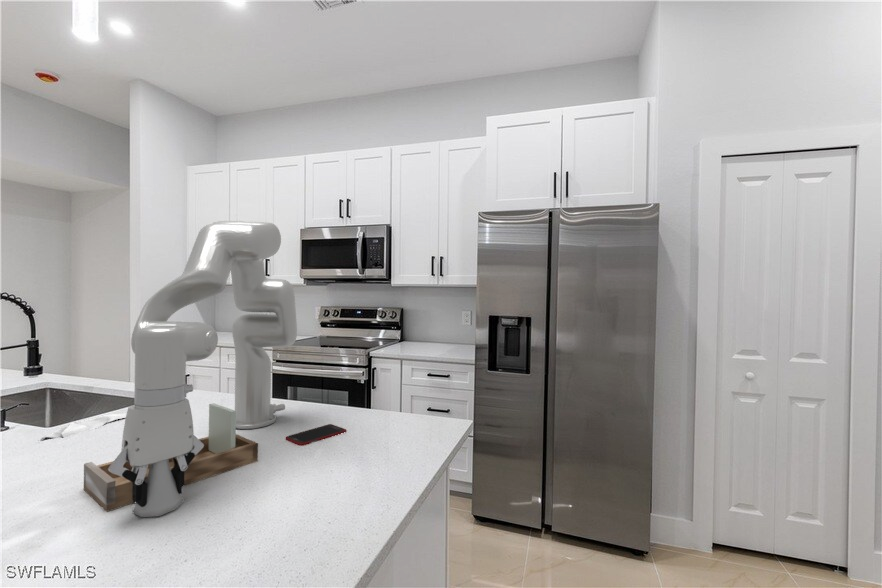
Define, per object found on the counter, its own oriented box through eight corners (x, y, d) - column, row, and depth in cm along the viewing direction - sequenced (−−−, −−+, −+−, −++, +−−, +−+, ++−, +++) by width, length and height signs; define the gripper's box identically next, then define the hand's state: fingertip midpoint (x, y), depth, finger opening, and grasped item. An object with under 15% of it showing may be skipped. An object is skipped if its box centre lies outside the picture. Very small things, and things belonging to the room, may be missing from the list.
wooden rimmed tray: (228, 447, 104) (228, 427, 104) (257, 460, 96) (258, 438, 96) (83, 489, 81) (83, 463, 81) (106, 511, 73) (107, 482, 73)
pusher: (212, 448, 99) (213, 403, 99) (235, 459, 93) (235, 411, 93) (208, 450, 98) (209, 404, 98) (230, 461, 92) (231, 411, 92)
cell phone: (347, 433, 117) (347, 429, 117) (300, 448, 105) (301, 444, 105) (330, 426, 122) (330, 423, 122) (283, 440, 110) (284, 436, 110)
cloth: (125, 412, 132) (125, 405, 132) (152, 418, 127) (152, 411, 127) (14, 438, 109) (15, 429, 109) (43, 447, 103) (43, 438, 103)
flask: (158, 521, 71) (159, 462, 71) (122, 515, 72) (123, 457, 72) (192, 500, 78) (193, 446, 78) (159, 495, 79) (159, 442, 79)
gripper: (200, 384, 84) (199, 475, 84) (93, 401, 70) (92, 510, 70) (219, 390, 79) (218, 486, 80) (109, 410, 66) (107, 526, 66)
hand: (159, 496), depth 75 cm, fingers closed on flask, 4 cm apart
